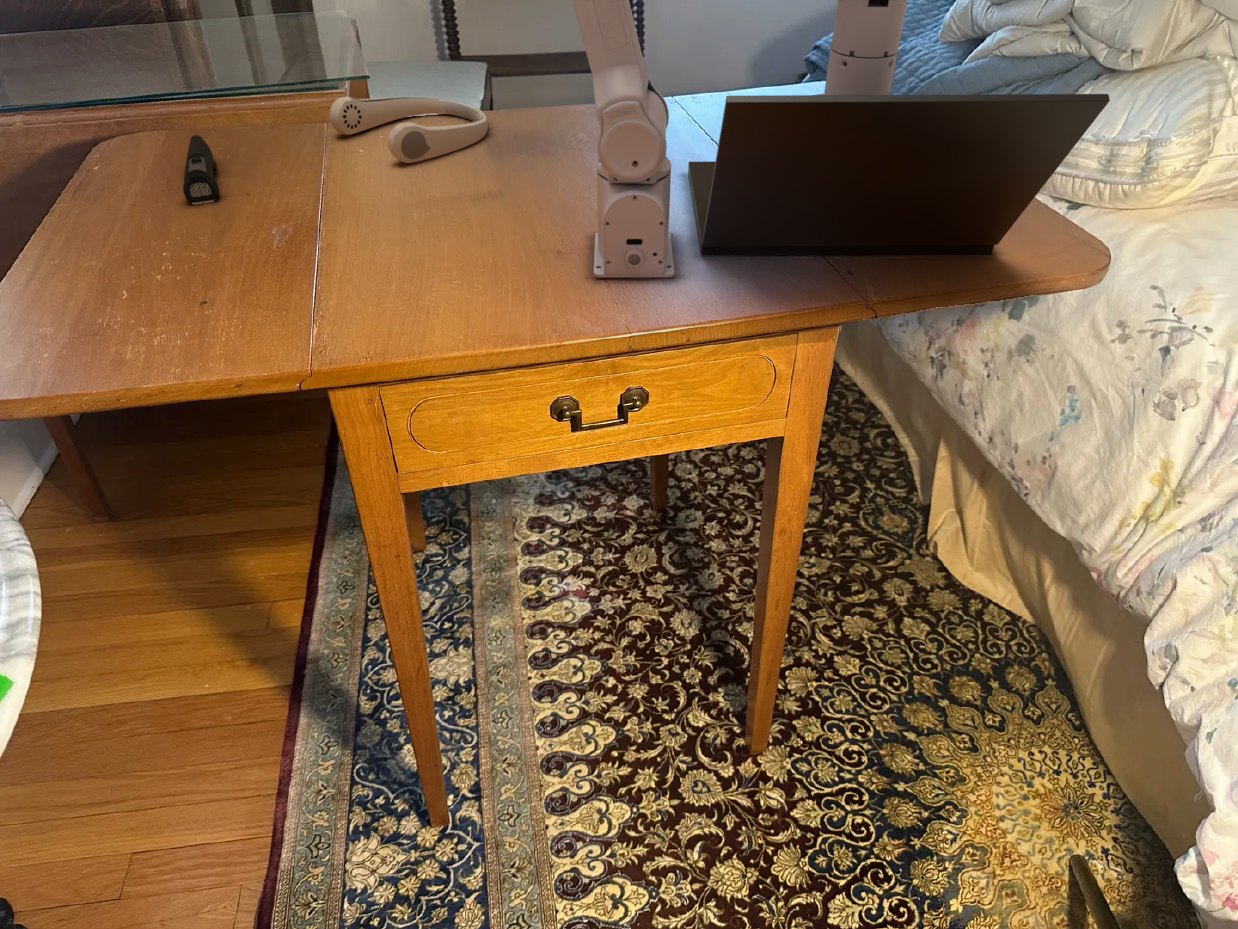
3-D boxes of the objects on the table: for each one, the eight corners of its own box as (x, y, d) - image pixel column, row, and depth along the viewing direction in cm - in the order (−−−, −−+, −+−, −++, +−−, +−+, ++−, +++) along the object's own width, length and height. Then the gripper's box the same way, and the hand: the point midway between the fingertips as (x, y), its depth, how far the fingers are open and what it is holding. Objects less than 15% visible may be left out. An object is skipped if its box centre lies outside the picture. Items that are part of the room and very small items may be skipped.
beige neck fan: (439, 104, 125) (434, 68, 122) (512, 134, 116) (509, 96, 113) (329, 136, 116) (321, 98, 112) (400, 171, 107) (393, 131, 103)
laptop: (687, 175, 105) (688, 160, 104) (934, 174, 105) (937, 159, 104) (701, 255, 89) (702, 238, 88) (991, 254, 89) (996, 237, 88)
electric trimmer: (219, 156, 111) (211, 131, 109) (221, 200, 100) (212, 173, 98) (188, 160, 110) (179, 135, 108) (186, 206, 99) (177, 178, 97)
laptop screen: (726, 94, 68) (726, 102, 67) (1108, 92, 68) (1110, 100, 67) (702, 239, 88) (702, 246, 87) (996, 237, 88) (997, 244, 87)
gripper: (934, 36, 78) (902, 182, 87) (774, 37, 78) (759, 182, 87) (957, 59, 73) (921, 212, 82) (785, 59, 73) (768, 212, 82)
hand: (838, 199), depth 84 cm, fingers closed
